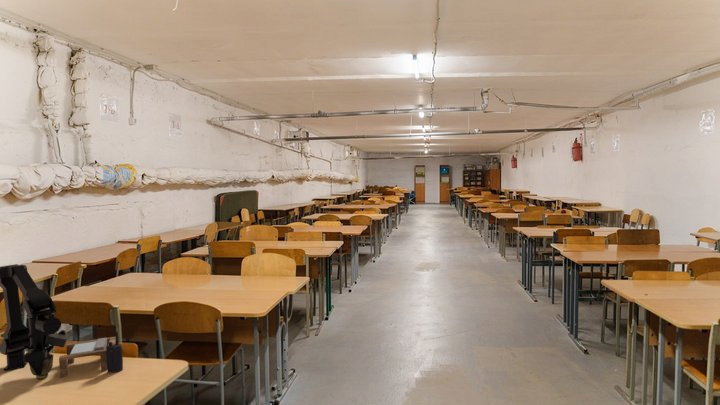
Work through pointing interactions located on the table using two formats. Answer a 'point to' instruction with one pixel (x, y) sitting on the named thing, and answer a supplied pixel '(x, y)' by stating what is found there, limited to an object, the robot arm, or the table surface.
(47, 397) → the table surface
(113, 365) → the two-way radio
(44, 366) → the brass rounded piece
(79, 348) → the trapdoor
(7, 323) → the robot arm
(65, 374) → the frame
